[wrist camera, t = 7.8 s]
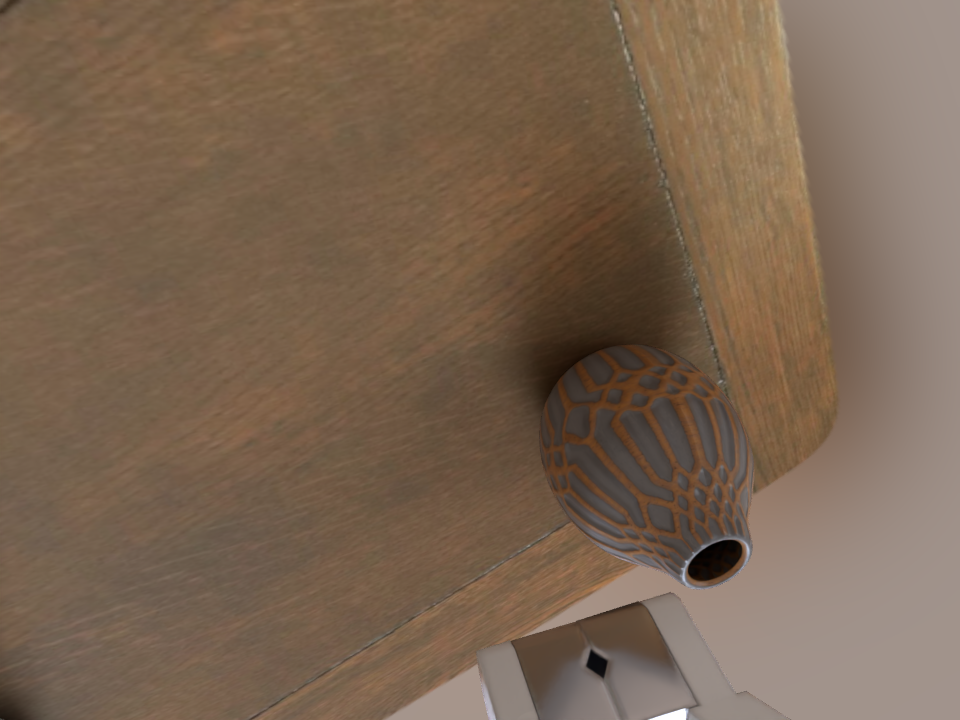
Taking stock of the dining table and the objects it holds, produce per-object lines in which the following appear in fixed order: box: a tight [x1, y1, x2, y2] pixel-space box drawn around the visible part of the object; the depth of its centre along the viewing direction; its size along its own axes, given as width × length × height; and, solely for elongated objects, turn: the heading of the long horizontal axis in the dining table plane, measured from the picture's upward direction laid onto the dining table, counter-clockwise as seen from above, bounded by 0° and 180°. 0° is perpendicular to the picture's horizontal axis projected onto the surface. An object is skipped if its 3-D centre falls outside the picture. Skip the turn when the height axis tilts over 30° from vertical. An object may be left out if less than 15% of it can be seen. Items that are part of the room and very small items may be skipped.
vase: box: [539, 345, 754, 589], centre depth 26 cm, size 7×7×9 cm
